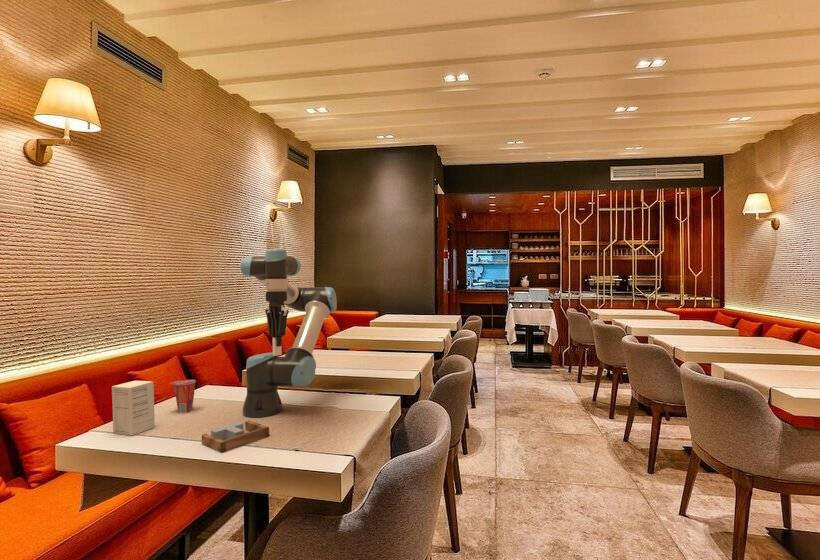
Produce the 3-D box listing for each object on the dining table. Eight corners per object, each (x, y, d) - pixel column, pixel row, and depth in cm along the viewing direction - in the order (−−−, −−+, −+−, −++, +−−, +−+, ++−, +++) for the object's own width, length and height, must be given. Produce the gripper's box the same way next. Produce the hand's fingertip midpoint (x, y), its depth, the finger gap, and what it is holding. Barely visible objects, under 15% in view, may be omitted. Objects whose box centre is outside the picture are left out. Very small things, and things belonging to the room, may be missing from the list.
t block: (211, 441, 140) (210, 430, 140) (238, 431, 148) (238, 422, 148) (225, 447, 135) (225, 436, 135) (253, 437, 143) (253, 427, 143)
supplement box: (155, 427, 155) (154, 381, 155) (131, 436, 146) (130, 387, 146) (136, 424, 158) (135, 379, 158) (112, 433, 149) (111, 385, 149)
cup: (192, 406, 180) (192, 378, 180) (199, 410, 174) (199, 381, 174) (168, 411, 173) (167, 382, 173) (174, 416, 167) (173, 385, 167)
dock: (201, 444, 138) (201, 434, 138) (249, 428, 151) (249, 420, 151) (221, 452, 130) (221, 443, 130) (269, 435, 144) (269, 427, 144)
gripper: (258, 291, 157) (259, 354, 157) (275, 290, 148) (276, 358, 148) (276, 290, 163) (277, 352, 162) (294, 290, 154) (295, 355, 153)
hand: (277, 355), depth 155 cm, fingers closed
